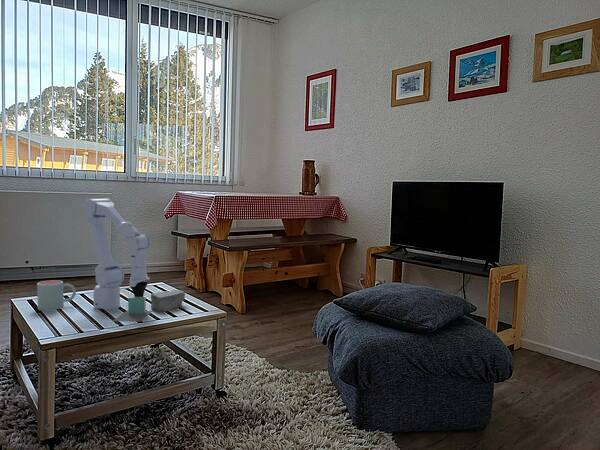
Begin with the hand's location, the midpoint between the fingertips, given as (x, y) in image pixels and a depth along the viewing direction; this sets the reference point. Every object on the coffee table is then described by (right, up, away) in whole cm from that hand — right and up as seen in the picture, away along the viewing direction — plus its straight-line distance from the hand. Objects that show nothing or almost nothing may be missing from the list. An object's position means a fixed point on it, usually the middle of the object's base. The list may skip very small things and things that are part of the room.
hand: (139, 301), depth 185 cm
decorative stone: (+9, -5, +7) cm, 12 cm away
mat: (0, -5, -5) cm, 7 cm away
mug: (-35, -4, +7) cm, 36 cm away
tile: (0, -4, -2) cm, 4 cm away
